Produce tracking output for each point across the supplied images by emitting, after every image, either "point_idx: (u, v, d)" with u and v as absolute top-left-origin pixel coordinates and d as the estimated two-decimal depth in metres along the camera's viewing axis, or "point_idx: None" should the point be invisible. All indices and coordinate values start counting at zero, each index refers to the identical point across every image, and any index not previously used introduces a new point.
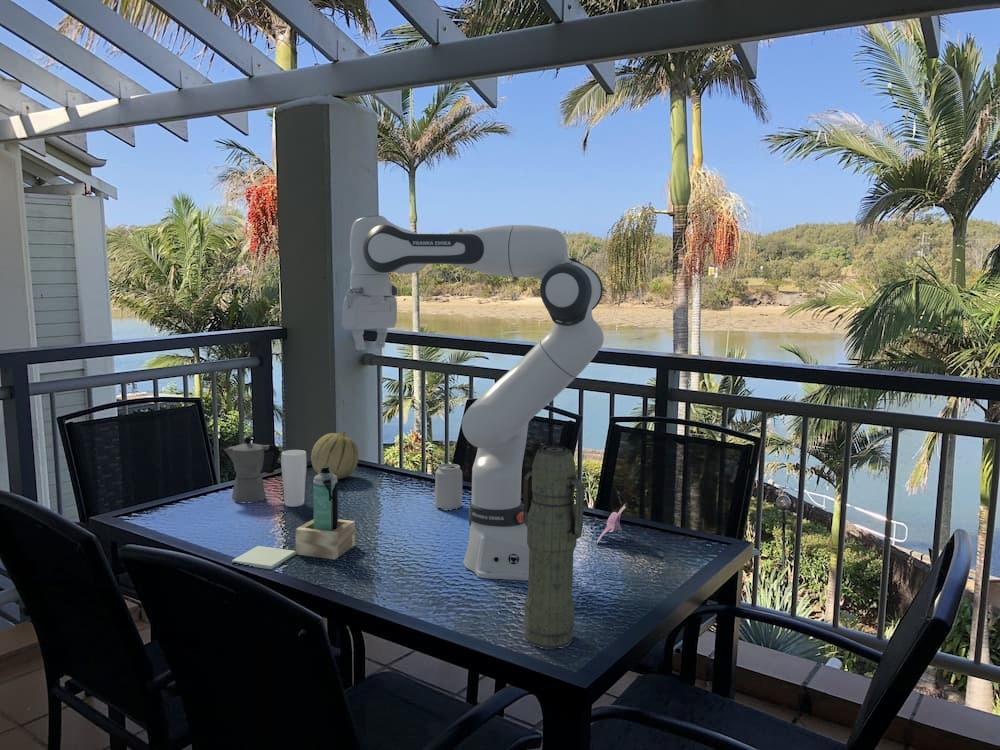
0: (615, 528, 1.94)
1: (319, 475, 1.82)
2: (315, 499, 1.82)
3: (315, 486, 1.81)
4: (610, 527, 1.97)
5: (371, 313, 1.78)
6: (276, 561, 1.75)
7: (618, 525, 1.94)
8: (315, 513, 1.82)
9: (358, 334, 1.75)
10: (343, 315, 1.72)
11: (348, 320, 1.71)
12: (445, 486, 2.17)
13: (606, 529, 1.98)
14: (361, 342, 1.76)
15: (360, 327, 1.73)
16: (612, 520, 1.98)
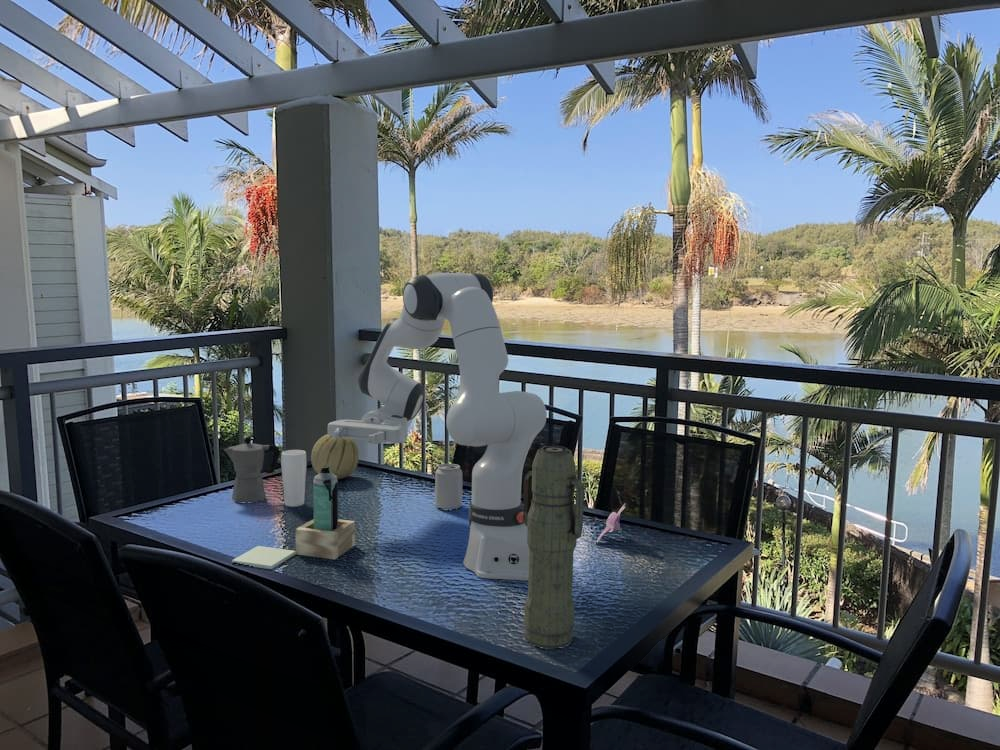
0: (614, 528, 1.94)
1: (319, 475, 1.82)
2: (315, 499, 1.82)
3: (315, 486, 1.81)
4: (609, 527, 1.97)
5: (358, 423, 2.04)
6: (276, 561, 1.75)
7: (617, 525, 1.94)
8: (315, 513, 1.82)
9: None
10: None
11: None
12: (445, 486, 2.17)
13: (605, 529, 1.98)
14: None
15: (334, 423, 2.02)
16: (611, 520, 1.98)
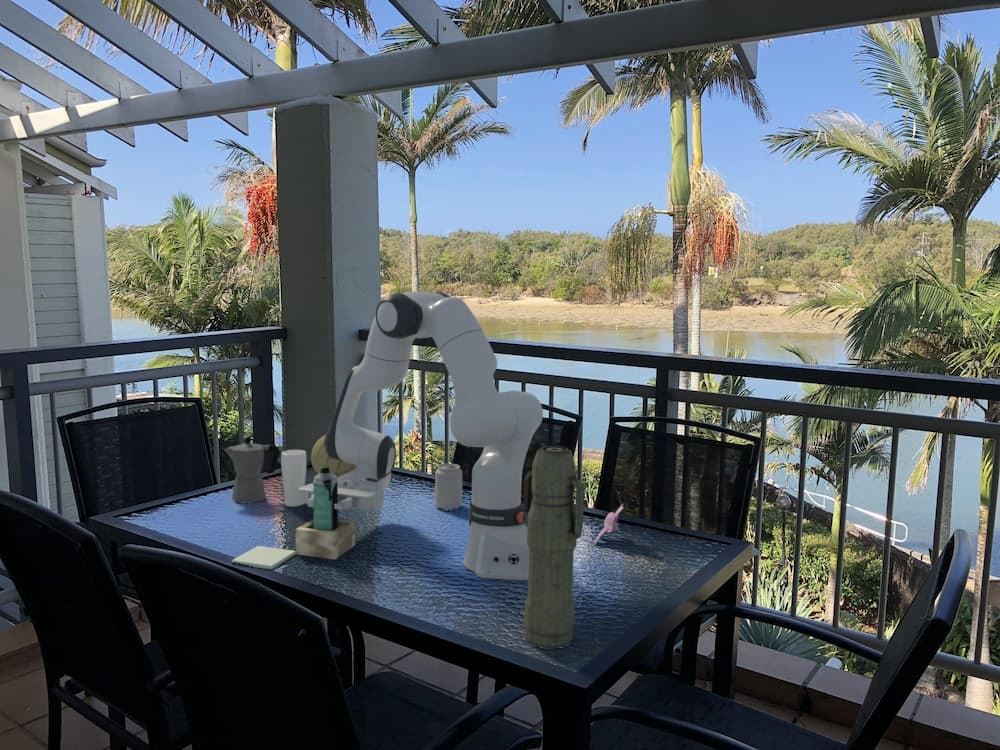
0: (613, 528, 1.93)
1: (319, 475, 1.82)
2: (315, 499, 1.82)
3: (315, 486, 1.81)
4: (607, 527, 1.97)
5: None
6: (276, 561, 1.75)
7: (616, 525, 1.94)
8: (315, 513, 1.82)
9: None
10: None
11: None
12: (445, 486, 2.17)
13: (603, 529, 1.98)
14: None
15: (304, 489, 1.90)
16: (609, 520, 1.98)
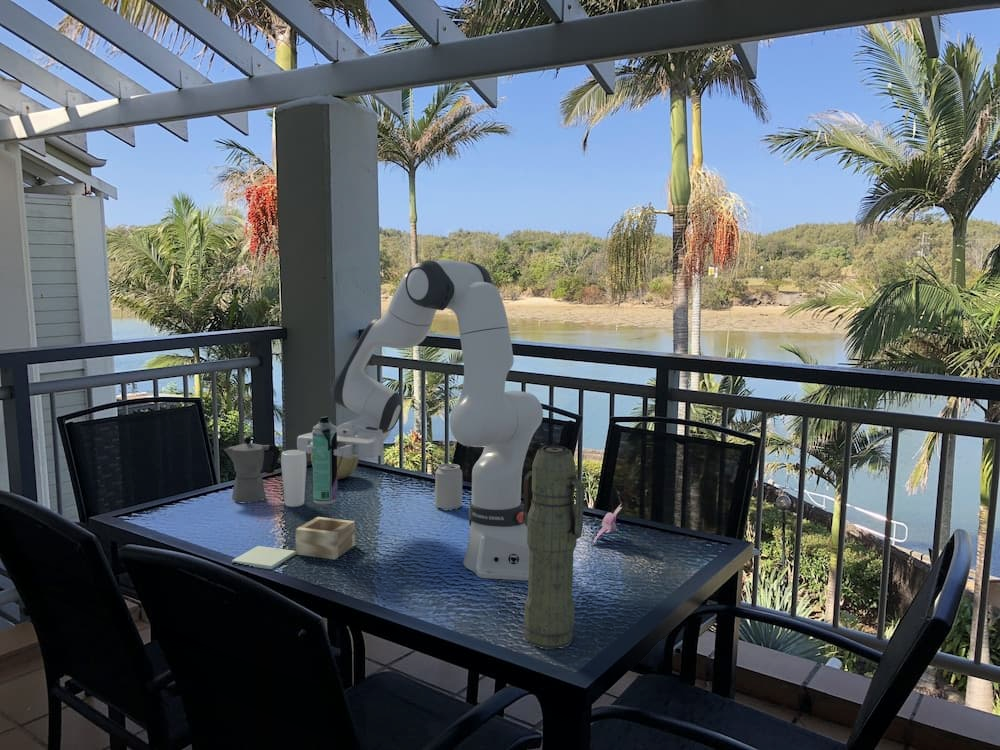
0: (611, 529, 1.93)
1: (318, 425, 1.80)
2: (314, 449, 1.80)
3: (314, 436, 1.80)
4: (606, 528, 1.97)
5: None
6: (276, 561, 1.75)
7: (614, 526, 1.94)
8: (314, 463, 1.81)
9: None
10: None
11: None
12: (445, 486, 2.17)
13: (602, 530, 1.97)
14: None
15: (303, 436, 1.88)
16: (607, 521, 1.97)
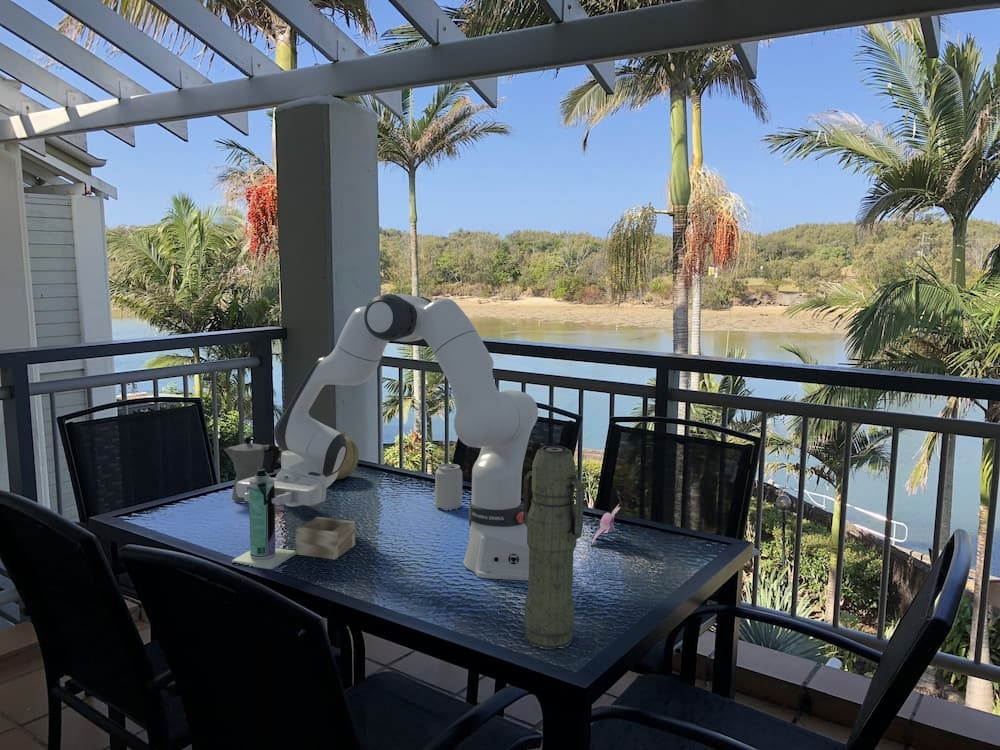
0: (609, 529, 1.93)
1: (254, 478, 1.75)
2: (250, 503, 1.75)
3: (250, 489, 1.75)
4: (604, 528, 1.96)
5: None
6: (276, 561, 1.75)
7: (612, 526, 1.93)
8: (250, 518, 1.75)
9: None
10: None
11: None
12: (445, 486, 2.17)
13: (599, 530, 1.97)
14: None
15: (243, 482, 1.83)
16: (605, 521, 1.97)
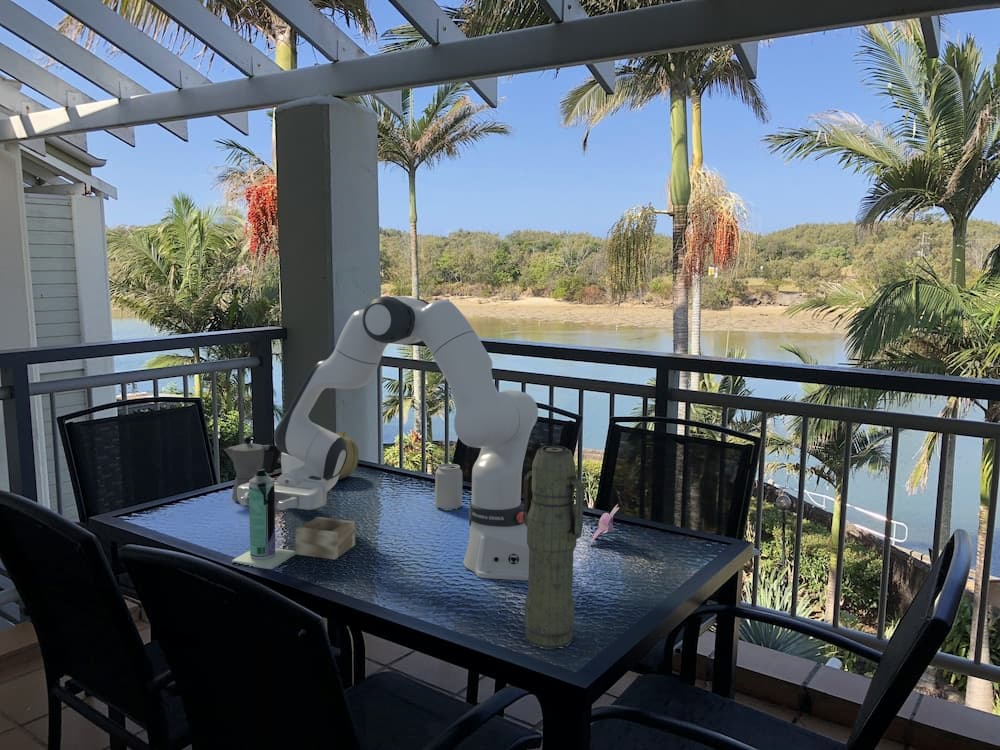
0: (608, 529, 1.93)
1: (254, 478, 1.75)
2: (250, 503, 1.75)
3: (250, 489, 1.75)
4: (602, 528, 1.96)
5: None
6: (276, 561, 1.75)
7: (611, 526, 1.93)
8: (250, 518, 1.75)
9: None
10: None
11: None
12: (445, 486, 2.17)
13: (598, 530, 1.97)
14: None
15: (243, 487, 1.83)
16: (604, 521, 1.97)
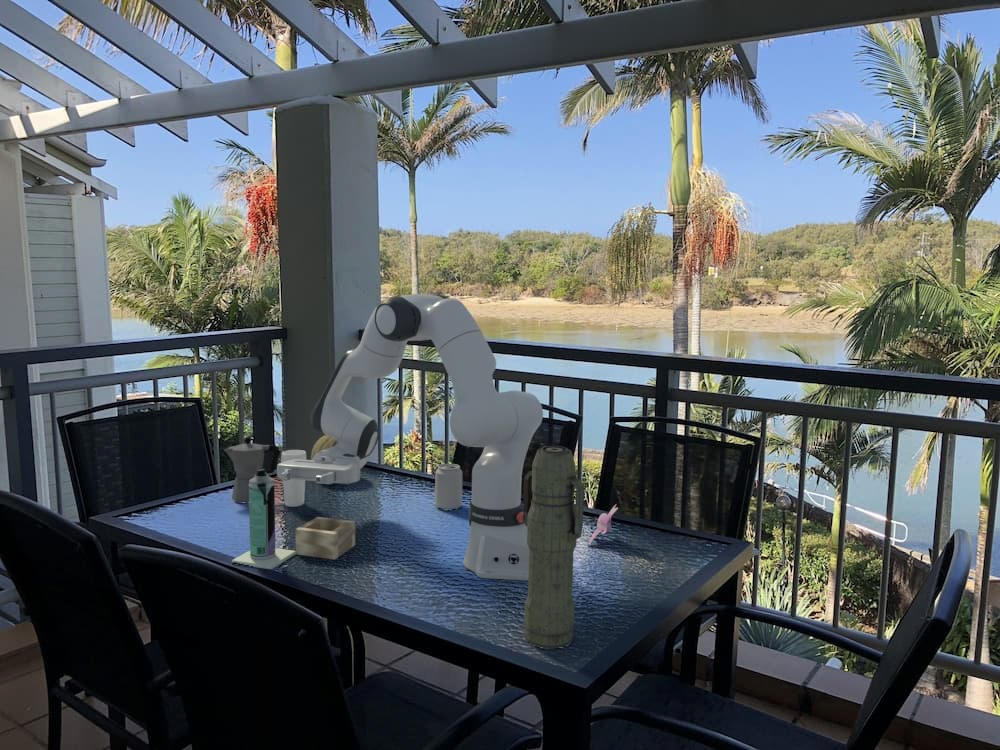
0: (607, 529, 1.93)
1: (254, 478, 1.75)
2: (250, 503, 1.75)
3: (250, 489, 1.75)
4: (601, 528, 1.96)
5: (308, 463, 1.97)
6: (276, 561, 1.75)
7: (609, 526, 1.93)
8: (250, 518, 1.75)
9: None
10: None
11: None
12: (445, 486, 2.17)
13: (597, 530, 1.97)
14: None
15: (283, 464, 1.96)
16: (602, 521, 1.97)
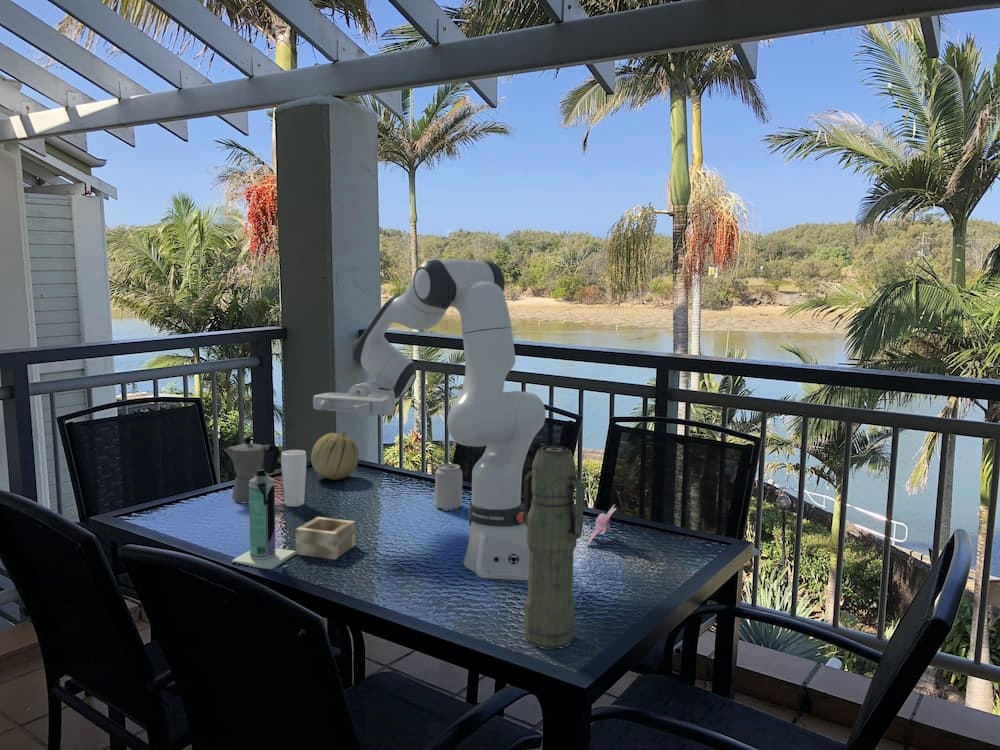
0: (605, 530, 1.92)
1: (254, 478, 1.75)
2: (250, 503, 1.75)
3: (250, 489, 1.75)
4: (599, 529, 1.96)
5: (344, 395, 2.00)
6: (276, 561, 1.75)
7: (608, 526, 1.93)
8: (250, 518, 1.75)
9: None
10: None
11: None
12: (445, 486, 2.17)
13: (595, 531, 1.97)
14: None
15: (319, 395, 1.98)
16: (601, 521, 1.96)
